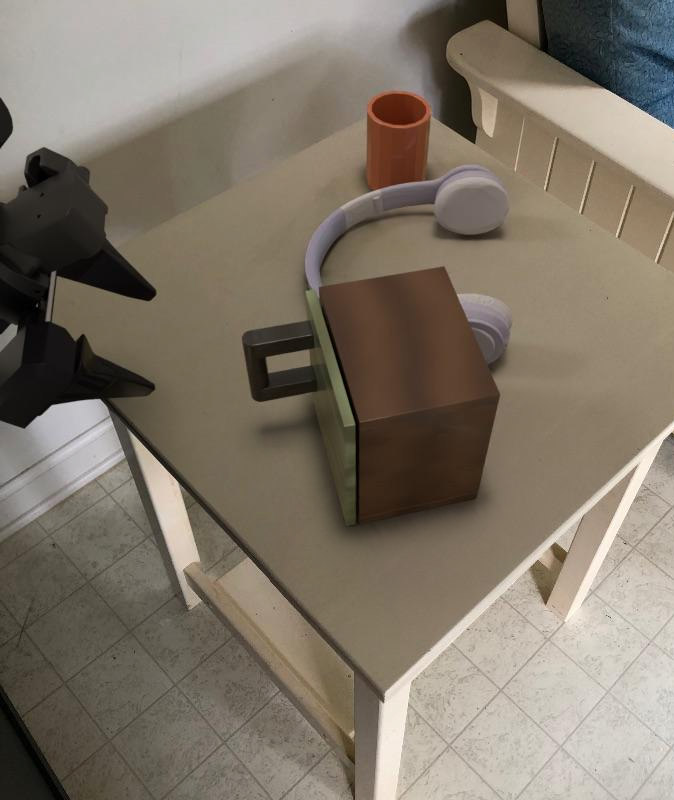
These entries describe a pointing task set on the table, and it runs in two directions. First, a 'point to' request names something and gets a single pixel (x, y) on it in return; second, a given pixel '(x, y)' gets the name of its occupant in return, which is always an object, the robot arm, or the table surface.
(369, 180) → the cup
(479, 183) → the headphones
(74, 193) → the robot arm
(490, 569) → the table surface
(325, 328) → the door
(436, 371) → the cupboard
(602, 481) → the table surface
